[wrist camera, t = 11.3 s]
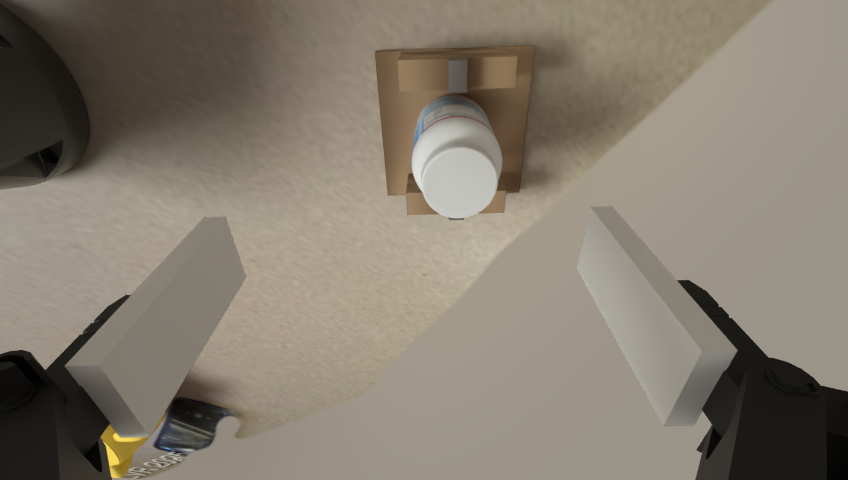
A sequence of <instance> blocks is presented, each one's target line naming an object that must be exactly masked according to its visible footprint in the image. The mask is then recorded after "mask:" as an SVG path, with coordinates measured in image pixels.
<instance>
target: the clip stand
mask: <svg viewBox="0 0 848 480" xmlns="http://www.w3.org/2000/svg"><path fill="white" fill-rule="evenodd" d="M533 56H534V46H507V47H478V48H449V49H420V50H392V51H375V58H376V69H377V80H378V91H379V102H380V113H381V124H382V136H383V147H384V158H385V169H386V180H387V191H388V196H390V195H406V201H407V215H425V214H439V213H437V212H436V211H435V210H433V209H432V208H431V207H430V206H429V204H428V203H427V201H426V200H425V198H424V195H423V192H422V191H421V190H420V188H419V187H418V185H417V183H416V181H415V178H414V175H413V171H412V152H413V143H414V134H415V126H416V122H417V119H418V116H419V114H420V113H421V111H422V110H423V108H424V107H425V106H426V105H427V104H428V103H429V102H430V101H432V100H433V99H435V98H437V97H439V96H443V95H447V94H457V95H462V96H465V97H467V98H469V99H471V100H473V101H474V102H476V103H477V104H478V105H479V106H480V107H481V108H482V109H483V111H484V112H485V114H486V116H487V118H488V121H489V123H490V125H491V128H492V130H493V132H494V134H495V137H496V139H497V141H498V143H499V146H500V150H501V154H502V170H501V174H500V177H499V179H498V187H497V191H496V194H495V196H494V198H493V200H492V201H491V203H490V204H489V205H488V206H487V207H486V208H485V209H484V210H482V211H481V212H480V213H504V209H505V197H506V193H515V192H519V190H520V180H521V171H522V161H523V152H524V142H525V133H526V123H527V113H528V104H529V94H530V85H531V75H532V66H533ZM449 220H464V218H450V217H449Z"/></svg>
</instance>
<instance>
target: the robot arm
mask: <svg viewBox="0 0 848 480" xmlns="http://www.w3.org/2000/svg"><path fill="white" fill-rule="evenodd" d="M88 134H89V127H88V118H87V113H86V109H85V106H84V102H83V100H82V97H81V95H80V92H79V90H78V88H77V86H76V84H75V82H74V80H73V79H72V77H71V75H70V73H69V72H68V70H67V69H66V67H65V66H64V64H63V63H62V62H61V60H60V59H59V58H58V57H57V55H56V54H55V53H54V52H53V50H52V49H51V48H50V47H49V46H48V45H47V44H46V43H45V42H44V41H43V40H42V38H41V37H39V36H38V35H37V34H36V33H35V32H34V31H33V30H32V29H31V28H30V27H29V26H27V25H26V24H25V23H24V22H23V21H21V20H20V19H19V18H17V17H16V16H15V15H13V14H12V13H10V12H9V11H8V10H6V9H4V8H3V7H1V6H0V190H1V189H9V188H17V187H25V186H31V185H35V184H39V183H42V182H45V181H47V180H49V179H51V178H53V177H55V176H58V175H60V174H62V173H64V172H66V171H67V170H69V169H71V168H72V167H73V166H74V165H75V164H76V163H77V162H78V161H79V160H80V159H81V157H82V155H83V154H84V151H85V149H86V146H87V142H88ZM577 270H578V272H579V274H580V276H581V278H582V279H583V281H584V283H585V285H586V287H587V288H588V290H589V292H590V294H591V296H592V297H593V299H594V301H595V303H596V305H597V307H598V308H599V310H600V312H601V314H602V315H603V317H604V319H605V321H606V323H607V325H608V326H609V328H610V330H611V332H612V334H613V335H614V337H615V339H616V341H617V343H618V345H619V346H620V348H621V350H622V352H623V354H624V355H625V357H626V359H627V361H628V363H629V364H630V366H631V368H632V370H633V372H634V373H635V375H636V377H637V379H638V381H639V383H640V384H641V386H642V388H643V389H644V392H645V393H646V395H647V397H648V399H649V401H650V402H651V404H652V406H653V407H654V410H655V411H656V413H657V415H658V417H659V418H660V420H661V422H662V424H663V426H687V425H689V426H691V425H694V424H695V423H696V421H697V419H698V418H699V416H700V414H701V412H702V411H703V412H704V413H705V415H706V416H707V418H708V419H709V421H710V422H711V424H712V426H711V428H710V429H709V431H708V432H707V434H706V436H705V437H704V439H703V441H702V442H701V444H700V445H699V447H698V448H697V450H698V451H699V452H701V453H702V456H701V460H700V464H699V468H698V472H697V476H696V480H848V392H847V391H842V390H838V389H834V388H829V387H825V386H820V384H819V383H818V382H817V381H816V380H815V379H814V378H813V377H812V376H810V375H809V374H808V373H806V372H805V371H803V370H802V369H800V368H798V367H796V366H794V365H792V364H790V363H788V362H785V361H781V360H778V359H775V358H768V357H767V356H766V354H765V353H764V352H763V351H762V350H761V349H760V348H759V347H758V346H757V345H756V344H755V343H754V342H753V340H751V338H750V337H749V336H748V335H747V334H746V333H745V332H744V331H743V330H742V329H741V328H740V327H739V326H738V325H737V323H736V322H735V321H734V320H733V319H732V318H729V315H728V314H727V313H726V312H725V311H724V310H723V309H722V308H721V307H719V305H718V303H717V302H716V301H715V300H714V299H713V298H712V297H711V296H710V295H709V294H708V293H707V291H705V290H703V289H702V288H700V287H698V286H697V285H696V284H694V283H692V282H691V281H689V280H676V279H675V278H674V277H673V276H672V274H671V273H670V272H669V271H668V270H667V269H666V268H665V266H663V264H662V263H661V262H660V261H659V259H658V258H657V257H656V256H655V255H654V254H653V253H652V252H651V250H650V249H649V248H648V247H647V246H646V245H645V243H644V242H643V241H642V240H641V239H640V238H639V237H638V235H637V234H636V233H635V232H634V231H633V230H632V229H631V227H630V226H629V225H628V224H627V223H626V222H625V221H624V219H623V218H622V217H621V216H620V215H619V214H618V213H617V211H616V210H615V209H614V208H613V207H612V206H611V207H591V208H590V212H589V217H588V221H587V226H586V230H585V235H584V239H583V243H582V248H581V252H580V257H579V261H578V266H577ZM245 278H246V275H245V272H244V269H243V266H242V263H241V260H240V258H239V255H238V252H237V249H236V246H235V243H234V240H233V237H232V234H231V231H230V228H229V225H228V222H227V219H226V217H204V218H203V219H202V220H201V221H200V222H199V223H198V225H197V226H196V227H195V228H194V229H193V230H192V231H191V232H190V233H189V234H188V235H187V236H186V237H185V238H184V239H183V240H182V242H181V243H180V244H179V245H178V246H177V247H176V248H175V249H174V250H173V251H172V252H171V253H170V254H169V255H168V256H167V258H166V259H165V260H164V261H163V262H162V263H161V264H160V265H159V266H158V267H157V268H156V269H155V270H154V271H153V272H152V273H151V275H150V276H149V277H148V278H147V279H146V280H145V281H144V282H143V283H142V284H141V285H140V286H139V287H138V288H137V289H136V290H135V292H134V293H133V294H132V295H125V296H124V297H122V298H120V299H119V300H117V301H116V302H114V303H113V304H111V305H110V306H108V307H107V308H106V309H105V310H104V311H103V312H102V313H101V314H100V315H99V316H98V317H97V318H96V319H95V320H94V323H91V324H90V325H89V326H88V327H87V328H86V329H85V330H84V331H83V335H79V336H78V337H77V338H76V339H75V341H74V342H73V343H72V344H71V345H70V346H69V347H68V348H67V349H66V350H65V351H64V352H63V353H62V354H61V355H60V356H59V357H58V358H57V359H56V360H55V361H54V362H53V363H52V364H51V365H50V366H49V367H48V368H47V369H46V370H44V368H43V367H42V366H41V365H40V364H39V362H38V361H37V360H36V359H35V357H34V356H33V355H32V354H31V353H30V352H27V351H23V350H18V351H9V352H6V353H3V354H0V480H112V478H111V472H110V466H109V461H108V455H107V449H106V445H105V444H104V442H103V440H102V439H101V438H100V437H101V435H102V434H103V433H104V431H105V430H106V428H107V427H108V426H109V424H110V425H111V427H112V428H113V429H114V431H115V432H116V433H117V434H118V436H119V437H120V438H134V437H150V436H151V434H152V433H153V431H154V429H155V428H156V426H157V424H158V423H159V421H160V419H161V418H162V416H163V414H164V413H165V411H166V409H167V408H168V406H169V404H170V403H171V401H172V399H173V398H174V396H175V394H176V393H177V391H178V389H179V388H180V386H181V384H182V383H183V381H184V379H185V378H186V376H187V374H188V373H189V371H190V369H191V368H192V366H193V365H194V363H195V361H196V360H197V358H198V356H199V355H200V353H201V351H202V350H203V348H204V346H205V345H206V343H207V341H208V340H209V338H210V336H211V335H212V333H213V331H214V330H215V328H216V326H217V325H218V323H219V321H220V320H221V318H222V316H223V315H224V313H225V311H226V310H227V308H228V306H229V305H230V303H231V301H232V300H233V298H234V296H235V295H236V293H237V291H238V290H239V288H240V287H241V285H242V283H243V282H244V280H245ZM702 451H703V452H702Z"/></svg>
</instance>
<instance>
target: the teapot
mask: <svg viewBox="0 0 848 480" xmlns="http://www.w3.org/2000/svg"><path fill="white" fill-rule="evenodd" d="M164 416H165V413H164V414H163V416H162V418H161V419H160V421H159V423H158V424H157V426H156V428H155V429H154V431H155V430H156V429H157V428H158V426H159V425H160V423H161V422H162V420H163V418H164ZM154 431H153V433H154ZM153 433H152V434H153ZM152 434H151V435H152ZM100 438H101V439H102V440H103V442H104V444H105V445H106V449H107V455H108V461H109V466H110V472H111V477H113V478H121V477H123V476H124V475H125V474H126V473H127V471H128V469H129V467H130V464H131V461H132V458H133V453H134V452H135V451H136V450H137V449H138V448H139V447H140V446H141V445H142V444H143V443H145V442H146V440H147V439H148V438H149V437H134V438H120V437H119V436H118V434H117V433H116V432H115V431H114V429H113V428H112V427H111V425H110V424H109V426H108V427H107V428H106V430H105V431H104V433H103V434H102V435H101V437H100Z"/></svg>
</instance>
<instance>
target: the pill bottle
mask: <svg viewBox="0 0 848 480" xmlns="http://www.w3.org/2000/svg"><path fill="white" fill-rule="evenodd" d="M501 170H502V154H501V150H500V146H499V143H498V141H497V139H496V137H495V134H494V132H493V130H492V128H491V125H490V123H489V121H488V118H487V116H486V114H485V112H484V111H483V109H482V108H481V107H480V106H479V105H478V104H477V103H476V102H474V101H473V100H471V99H469V98H467V97H465V96H462V95H457V94H447V95H443V96H439V97H437V98H435V99H433V100H432V101H430V102H429V103H428V104H427V105H426V106H425V107H424V108H423V110H422V111H421V113H420V114H419V116H418V119H417V122H416V126H415V134H414V143H413V152H412V171H413V175H414V178H415V181H416V183H417V185H418V187H419V188H420V190H421V191H422V192H423V195H424V198H425V200H426V201H427V203H428V204H429V206H430V207H431V208H432V209H433V210H435V211H436V212H437V213H439V214H441V215H443V216H446V217H450V218H467V217H471V216H473V215H476V214H478V213H480V212H481V211H482V210H484V209H485V208H486V207H487V206H488V205H489V204H490V203H491V201H492V200H493V198H494V196H495V194H496V191H497V187H498V179H499V177H500V174H501Z"/></svg>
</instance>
